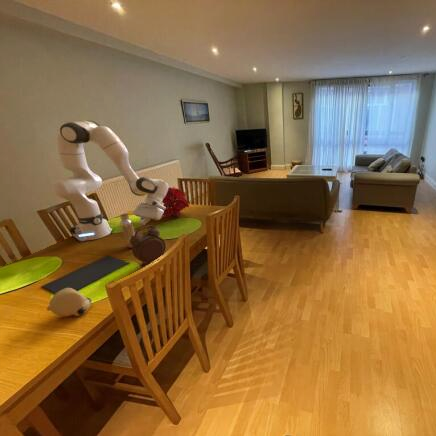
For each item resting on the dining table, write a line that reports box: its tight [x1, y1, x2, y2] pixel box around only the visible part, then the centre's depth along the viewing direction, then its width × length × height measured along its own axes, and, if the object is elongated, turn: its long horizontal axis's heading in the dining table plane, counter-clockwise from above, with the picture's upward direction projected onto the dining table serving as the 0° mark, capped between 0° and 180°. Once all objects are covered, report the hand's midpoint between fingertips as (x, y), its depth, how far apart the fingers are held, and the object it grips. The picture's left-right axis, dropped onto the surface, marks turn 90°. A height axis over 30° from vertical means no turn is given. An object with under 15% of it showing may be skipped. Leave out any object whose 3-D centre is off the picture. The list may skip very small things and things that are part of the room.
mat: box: [41, 255, 129, 295], centre depth 116 cm, size 18×28×1 cm, turn 156°
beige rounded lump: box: [46, 288, 93, 319], centre depth 91 cm, size 10×12×11 cm
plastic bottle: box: [119, 213, 136, 249], centre depth 137 cm, size 6×7×20 cm
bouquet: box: [162, 186, 190, 218], centre depth 180 cm, size 22×24×30 cm
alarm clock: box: [130, 225, 166, 266], centre depth 122 cm, size 14×7×20 cm, turn 150°
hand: (141, 224), depth 144 cm, fingers closed
